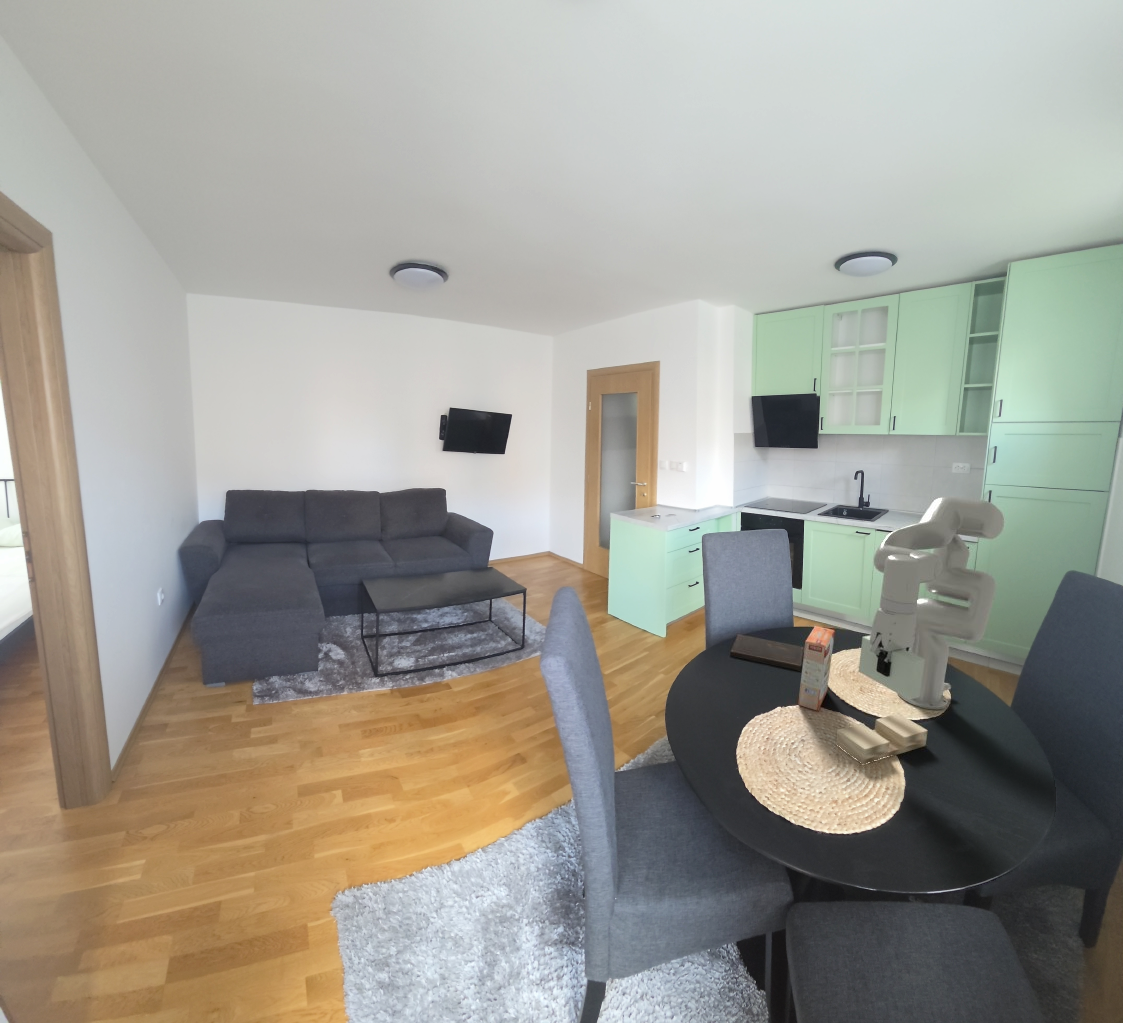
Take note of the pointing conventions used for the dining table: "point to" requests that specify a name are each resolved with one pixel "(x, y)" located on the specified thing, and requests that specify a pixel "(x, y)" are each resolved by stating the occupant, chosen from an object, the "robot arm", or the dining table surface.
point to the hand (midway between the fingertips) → (888, 671)
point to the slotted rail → (881, 738)
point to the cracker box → (816, 667)
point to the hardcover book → (768, 652)
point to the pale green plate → (894, 670)
